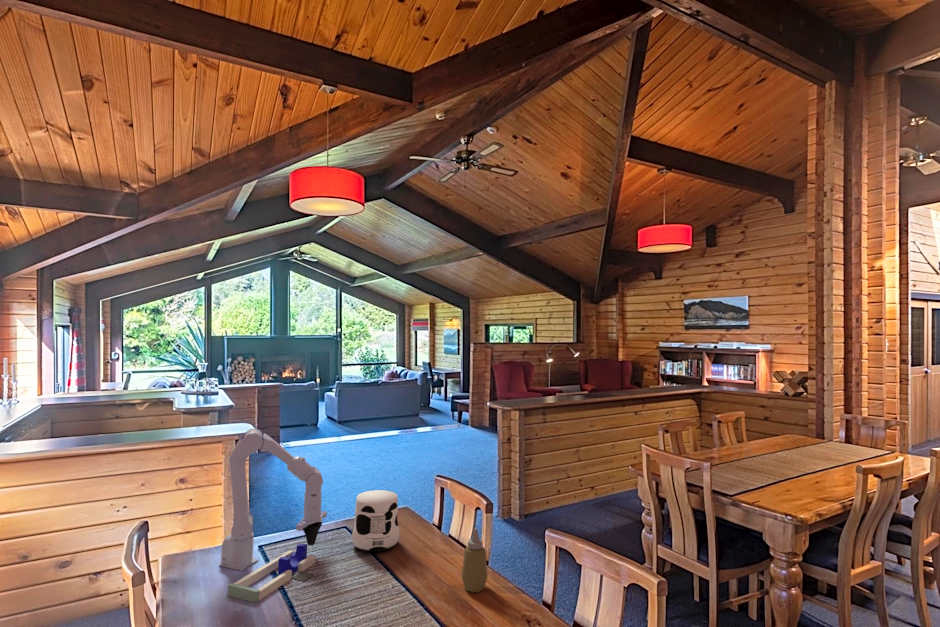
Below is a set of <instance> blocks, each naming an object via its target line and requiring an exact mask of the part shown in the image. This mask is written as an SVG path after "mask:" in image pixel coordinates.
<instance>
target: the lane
mask: <svg viewBox="0 0 940 627" xmlns="http://www.w3.org/2000/svg"><path fill="white" fill-rule="evenodd" d="M293 553H294V550H287V551H286V552H285V553H283V554H281V555H279V556H278V557H276V558H274V559H273V560H271V561H269V562H267V563H266V564H263V565H262V566H261V567H260V568H257V569H255V570H254V571H252V572H250V573H249V574H247V575H245V576H244V577H242V578H241V579H238V580H237V581H235V582H234V583H232V582H231V583H229V584H228V585H227V595H226V596H228V597H232V598H237V599H239V600H244V601H248V602H252V603H258V602H259V601H261V600H263V599H264V598H265V597H267V596H268V595H269V594H271V593H272V592H274V591H275V590H277V589H279V588H280V587H281V586H283V585H284V584H286V583H287V582H289V581H290V580H292V579H291V578H292V577H293V574H292V571H291V570H287V571H285V572H284V573H282V574H281V575H279V576H278V575H277V576H276V577H274V578H273V579H271V580H270V581H269V582H267V583H265V584H263V585H262V586H260V587H259V588H253V587H249V586H251V585H253V584H254V583H256V582H257V581H259V580H261V579H263V578H264V577H265V576H266V575H269V574H270V573H272V572H274V571H275V570H278V565H279V558H280V557H288V558H290V556H291V555H292V554H293ZM315 563H316V555H315V554H310V555H309V556H307V558H306V559H304V560H302V561H301V562H299V563H298V570H297V571H298V572H299V573H300V572H301V571H303V572H305V570H306V569H308V568H310V567H311V566H313V565H315Z"/></svg>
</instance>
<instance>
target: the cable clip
mask: <svg viewBox="0 0 940 627" xmlns="http://www.w3.org/2000/svg"><path fill="white" fill-rule="evenodd" d="M307 553H308V544H307V543H306V544H305V543H298V544H297V545H296V550H295V551H293V554H292V555H291V556H290V558H288V557H280V558H279V565H278V568H277V570H278V571H277V577H278V576H279V575H281V574H282V573H284V572H285V571H287V570H291V571H292V575H293V574H294V573H295V572H297V571H298V563H299V562H301V561H302V560H304V559H306V558H307V557H308V554H307Z"/></svg>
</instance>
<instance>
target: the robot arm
mask: <svg viewBox="0 0 940 627" xmlns="http://www.w3.org/2000/svg"><path fill="white" fill-rule="evenodd" d="M257 451H260V452H261V453H264V452H265V453H266V452H267V453H271V454H272V455H273V456H275V458H277V459H279V460H280V461H282V462H283V464H286V465H287V468H286V469H287V471H288V472H290V473H291V474H293V475H294V476H295V477H296V478H298V479H299V480H300V481H303V482H304V483H305V491H304V497H303V498H304V501H303V502H304V503H303V518H302V519H301V520H300V521H299V522H298V523H297V524H295V525H296V526H295V527H296V531H299V532H301V531H302V532H303V533H304V535H305V540H306V545H307V546H315V544H316V541H317V537H318V533H319V531H320V529H321V527H322V526H323V521H324V518H327V516H328V515H327V514H328V513H327V511H326V510H325V511H324V510H322V486H323V483H324V480H323V479H324V478H323V475H322V472H321V471H320V470H319V469H318V468H316V467H315V466H314V465H313V466H312V465H311V464H310V463H309V462H308V461H306V458H305V457H304V456H302V457H301V456H300V455H299V456H293V455H292V454H291V453H290V452H288V451H287V450H286V449H285V448H284V447H283V446H282V445H280V444H279V443H278V442H277V441H276V440H274V439H273V438H272V437H270V436H269V435H268V434H267V433H265V432H264V433H263V432H262V430H261V429H258V428H250V429H248V430H247V431H246V432H245V433H243V434H242V435H241V436H240V437H239V440H238V441H237V443H236V444H235V446H234V448H233V450H232V452H231V453H230V456H229V469H230V483H231V494H232V505H233V506H232V508H233V515H232V516H233V524H232V527H231V529H230V534H228V535H227V536H226V537H225V538H224V539H223V541H222V544H221V553H220V554H221V557H220V563H219V564H218V566H220V567H224V568H228V569H232V570H238V571H243V570H244V569H246V568H248V567H249V566H251V565H253V564H255V563H256V562H258V561H259V559H258V558H255V557H253V556H254V555H253V553H254V536H255V534H254V531H253V524H254V517H253V515H252V513H251V512H250V505H249V497H248V483H247V482H248V481H247V472H246V470H247V469H246V460H248V458H249V457H250V456H251V455H252V454H254V453H256V452H257Z"/></svg>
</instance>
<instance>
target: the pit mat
mask: <svg viewBox="0 0 940 627" xmlns="http://www.w3.org/2000/svg"><path fill="white" fill-rule="evenodd" d="M314 576H315V573H311V572H308V571H301V572H300V571H299V572H298V573H297V574H296V575H293V576H292V577H291V579H290V580H295V581H298V582H299V581H300V582H304V583H305V582H307V581H308V580H309V579H311V578H312V577H314Z"/></svg>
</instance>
